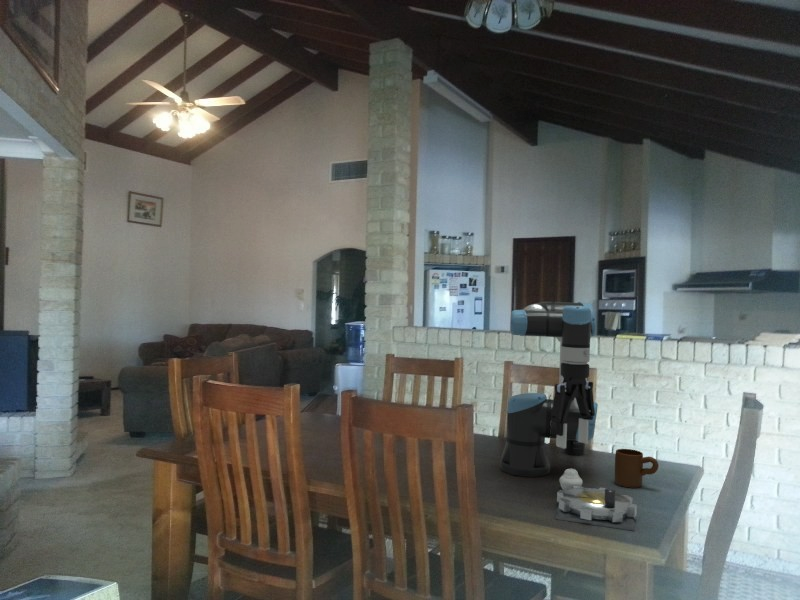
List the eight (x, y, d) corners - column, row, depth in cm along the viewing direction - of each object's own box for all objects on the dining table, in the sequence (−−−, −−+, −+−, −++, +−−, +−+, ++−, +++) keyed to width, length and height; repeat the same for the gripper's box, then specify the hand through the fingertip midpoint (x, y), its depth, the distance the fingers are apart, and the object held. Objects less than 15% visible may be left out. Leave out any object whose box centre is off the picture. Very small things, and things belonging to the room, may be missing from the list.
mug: (661, 487, 175) (662, 455, 175) (653, 494, 170) (654, 460, 169) (619, 478, 183) (621, 447, 183) (610, 484, 177) (611, 451, 177)
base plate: (555, 518, 149) (555, 514, 149) (562, 495, 166) (562, 491, 166) (634, 530, 143) (634, 526, 143) (633, 505, 160) (633, 501, 160)
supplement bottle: (587, 452, 211) (588, 418, 211) (581, 457, 205) (582, 421, 205) (567, 449, 215) (568, 415, 215) (561, 453, 209) (562, 418, 209)
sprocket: (581, 524, 143) (582, 497, 143) (543, 496, 161) (544, 472, 161) (652, 519, 147) (653, 493, 147) (608, 493, 166) (609, 469, 166)
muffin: (568, 498, 164) (569, 472, 164) (554, 491, 170) (555, 466, 169) (587, 496, 166) (587, 470, 166) (572, 488, 172) (573, 464, 172)
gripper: (561, 366, 158) (558, 453, 158) (610, 362, 171) (607, 442, 171) (538, 362, 164) (535, 447, 164) (587, 359, 177) (584, 437, 177)
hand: (572, 444), depth 168 cm, fingers open, 9 cm apart
